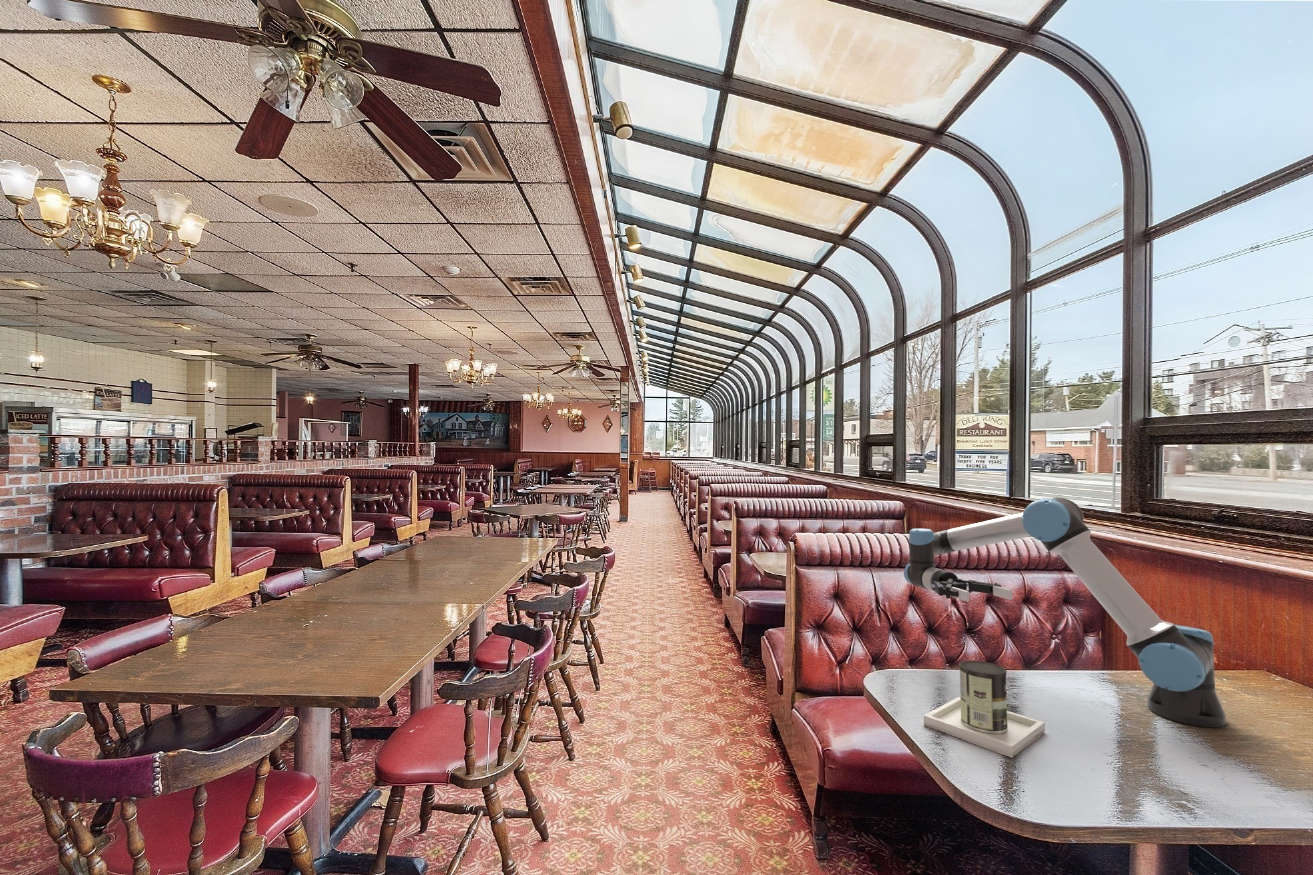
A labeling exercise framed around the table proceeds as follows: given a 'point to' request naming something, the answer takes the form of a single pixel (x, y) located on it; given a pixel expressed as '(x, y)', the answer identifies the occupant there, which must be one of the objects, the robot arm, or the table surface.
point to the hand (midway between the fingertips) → (989, 595)
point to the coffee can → (983, 696)
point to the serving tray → (1006, 743)
